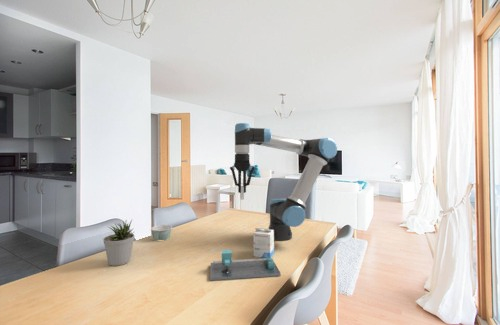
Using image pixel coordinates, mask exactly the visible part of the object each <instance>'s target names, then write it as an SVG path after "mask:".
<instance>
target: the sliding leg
mask: <svg viewBox="0 0 500 325" xmlns="http://www.w3.org/2000/svg"><path fill="white" fill-rule="evenodd" d="M232 257H233V254H232V249H222V250H221V261H222V263H225V266H226V271H229V266H230V263H232V260H233V258H232Z"/></svg>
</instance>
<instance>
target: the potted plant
mask: <svg viewBox="0 0 500 325" xmlns="http://www.w3.org/2000/svg"><path fill="white" fill-rule="evenodd" d="M127 221H128V220H127V219H125V221H124V220H122V223H123V226H122V224H121V223H119V222H118V223H114V224H115V226H113V225H110V226H108V228H109V230H111V231H113V233H114V234H109V235H107V236H105V237H104V238H103V239H102V240H103V244H104V248H105V254H106V260H107V263H108V265H110V266H111V267H112V266H114V267H117V266H123V265H125V264H127V263H130V261H131V257H132V251H133V247H134V246H133V245H134V240H135V234H134V233H135V231H133V230H134V228H132V229H131V223H132V221H133V219H131V220H130V222H129V223H127ZM117 225H118V226H117ZM132 231H133V232H132Z"/></svg>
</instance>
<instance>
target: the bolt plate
mask: <svg viewBox="0 0 500 325" xmlns="http://www.w3.org/2000/svg"><path fill="white" fill-rule="evenodd" d="M209 276H210V277H209V278H210V279H209V280H210V282H213V281H229V280H242V279H253V278H255V279H257V278H269V277H281V276H282V275H281V271H280V270H279V268H278V266H277V264H276V263H275V261H274V258H273V257H269V258H262V257H261V258H249V259H232V263H230V266H229V271H226V266H225V263H222V260H217V261H216V260H214V261H212V262H210V275H209Z"/></svg>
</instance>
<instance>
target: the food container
mask: <svg viewBox="0 0 500 325" xmlns="http://www.w3.org/2000/svg"><path fill="white" fill-rule="evenodd" d="M172 228H173V226H172V225H169V224H160V225H154V226H152V227H151V228H150V231H151V234H152V238H153V239H154V240H153V241H155V240H164V241H167V239H168V240H170V238H171V233H172Z"/></svg>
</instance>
